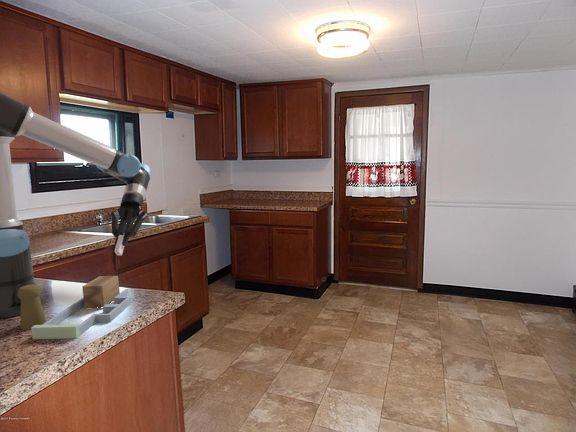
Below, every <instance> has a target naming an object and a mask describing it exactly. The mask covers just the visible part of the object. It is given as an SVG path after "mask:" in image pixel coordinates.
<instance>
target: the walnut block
mask: <svg viewBox="0 0 576 432" xmlns="http://www.w3.org/2000/svg"><path fill="white" fill-rule="evenodd" d="M119 283H120V281H119V275H98V277H95V279H93V280H91V281H89V282H88V283H86V284H84V285H82V296H83V297H82V298H84V306H83V307H84V309H85V308H97V307H98V308H99V309H102V308H101V307H103V306H104V305H106V304H110V303H111V302H112V301H114V298H115V297H116V296H117V295H118V294H120V293H121V292H120V284H119ZM112 303H113V302H112ZM112 303H111V304H112Z"/></svg>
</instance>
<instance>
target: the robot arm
mask: <svg viewBox="0 0 576 432" xmlns="http://www.w3.org/2000/svg"><path fill="white" fill-rule="evenodd" d="M19 136H23V137H26V138H29V139H31V140H34V141H36V142H37V143H40V144H44V145H45V146H48V147H51V148H53V149H56V150H58V151H61V152H63V153H66V154H68V155H70V156H72V157H76V158H78V159H80V160H82V161H84V162H88V163H90V164H92V165H95V166H96V168H97V169H98V170H101V171H102V172H103V173H106V174H108V175H109V176H112V177H113V178H116V179H117V180H119V181H122V182H123V183H125V184H126V185H125V188H124V191H123V193H122V199H121V200H120V206H119V207H118V209H117V211H116V212H113V211H111V212H110V214H109V215H110V216H111V234H112V236H113V237H114V238H115V240H114V245H115V248H114V253H115V254H116V256H118V257H119V256H123V253H124V250H125V247H127V246H128V243H129V240H130V238H135V237H136V236H137V234H138V231H139V230H140V228H141V226H142V224H143V223H144V221H145V220H146V219H147V218H148V215H147V212H146V210H143V207H144V203H145V200H146V195H147V189H148V187H149V182H150V180H151V175H152V170H151V168H150V166H149V165H147V164H146V163H141V162H140V160H139V158H138V157H137V156H135V155H133V154H131V153H130V154H128V153H125V152H123V151H120V150H118V149H116V148H113V147H112V146H110V145H107V144H104V143H103V142H100V141H98V140H96V139H94V138H91V137H89V136H87V135H85V134H83V133H81V132H78V131H76V130H74V129H72V128H70V127H67V126H65V125H63V124H60V123H58V122H56V121H54V120H52V119H49V118H48V117H45V116H43V115H41V114H39V113H36V112H34V111H33V109H32V107H31V106H29V105H27V104H25V103H23V102H21V101H19V100H17V99H14V98H13V97H11V96H9V95H7V94H5V93H3V92H1V91H0V319H5V318H10V317H11V318H12V317H17V316H21V299H20V298H19V297H18V290H19V288H21V287H23V286H26V285H32V284H35V285H38V284H37V283H36V281H35V276H34V268H33V261H32V253H31V245H30V244H31V240H30V238H29V234H28V233H27V231H25V230H24V222H23V221H21V220H19V219H18V217H17V208H16V207H17V206H16V198H15V189H14V176H13V169H12V166H13V165H12V158H11V148H10V143H12V142H13V141H14V140H15V138H16V137H19ZM119 216H120V220H119ZM39 297H40V301H41V304H42V306H43V305H44V304H45V300H44V295H43V294H42V293H41V294H40V296H39Z"/></svg>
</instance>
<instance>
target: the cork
mask: <svg viewBox="0 0 576 432" xmlns="http://www.w3.org/2000/svg"><path fill="white" fill-rule="evenodd" d="M40 294H42V288H41V286H39V285H38V284H37V285H35V284H32V285H26V286H23V287H21V288H19V290H18V297H19V298H20V299H21V315H20V323H19V324H20V325H19V326H20V327H19V329H20V330H23V331H26V330H27V331H29V330H32V329H31V328H32V327H33V326H35V325H42V324H44V323H45V322H47V321H48V320H47V318H46V315H45V312H44V311H45V310H44V308H43V305H42V304H41V301H40V297H39V296H40Z"/></svg>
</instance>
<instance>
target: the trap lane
mask: <svg viewBox="0 0 576 432" xmlns="http://www.w3.org/2000/svg"><path fill="white" fill-rule="evenodd" d="M129 295H130V294H129V289H128V288H125V289H124V290H122V291H121V292H120V294H118V295H117V296H116V297H115V298H114V302H113V303H111V304H106V305H104V306H103V308H102V313H93V314H92V315H90V316H89V317H87V318H86V319H85V320H84V321H82V322H81V323H80V324H78V323H76V324H72V323H71V324H70V323H69V324H60V323H62V322H63V321H65V320H66V319H67V318H69V317H71V316H72V315H73V314H74V313H76V312H78V311H79V310H80V309H82V308H83V307H84V298H83V297H82V298H80V299H79V300H78V301H75V302H74V303H73V304H70V306H68V307H66V308H65V309H64V310H62V311H61V312H59V313H57V314H55V316H53V317H52V318H50V319H48V320H46V321H47V322H45V323H44V324H42V325H35V326H33V327H32V328H31V329H30V330H31V336H32V340H51V339H53V340H54V339H55V340H56V339H59V340H62V339H64V340H65V339H78V338H79V337H80V336H82V335H83V334H84V333H85V332H87V330H89V329H90V328H91V327H92V326H93V325H95V324H96V323H111V322H112V321H114V320H115V319H116V318H117V317H118V316H119V315H120V314H121V313H123V311H125V310H126V309H127V308H128V307H129V306H131V305H132V303H133V298H132V296H129ZM81 307H82V308H81ZM125 308H126V309H125ZM124 309H125V310H124ZM94 323H95V324H94Z"/></svg>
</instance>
